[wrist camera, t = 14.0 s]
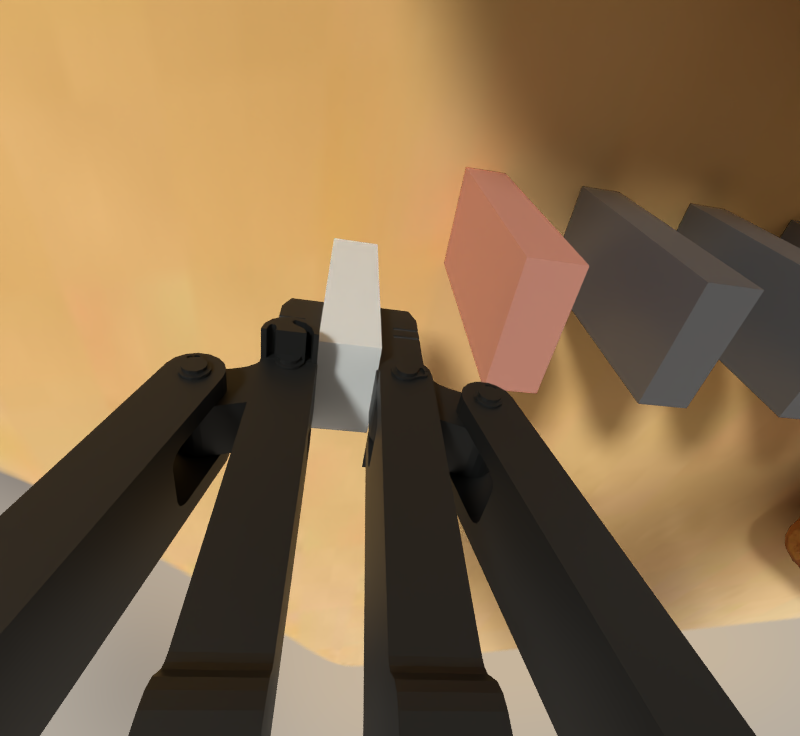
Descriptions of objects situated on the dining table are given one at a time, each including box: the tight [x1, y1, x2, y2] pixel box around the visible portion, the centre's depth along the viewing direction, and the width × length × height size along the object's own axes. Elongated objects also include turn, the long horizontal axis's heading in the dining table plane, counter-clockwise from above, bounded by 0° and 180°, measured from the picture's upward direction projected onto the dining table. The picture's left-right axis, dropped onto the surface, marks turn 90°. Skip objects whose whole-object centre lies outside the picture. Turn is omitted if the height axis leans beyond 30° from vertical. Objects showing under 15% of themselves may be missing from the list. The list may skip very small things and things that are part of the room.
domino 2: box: [564, 186, 764, 408], centre depth 21 cm, size 5×2×11 cm, turn 171°
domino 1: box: [444, 167, 589, 394], centre depth 20 cm, size 5×2×11 cm, turn 171°
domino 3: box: [677, 204, 800, 419], centre depth 22 cm, size 5×2×11 cm, turn 171°
